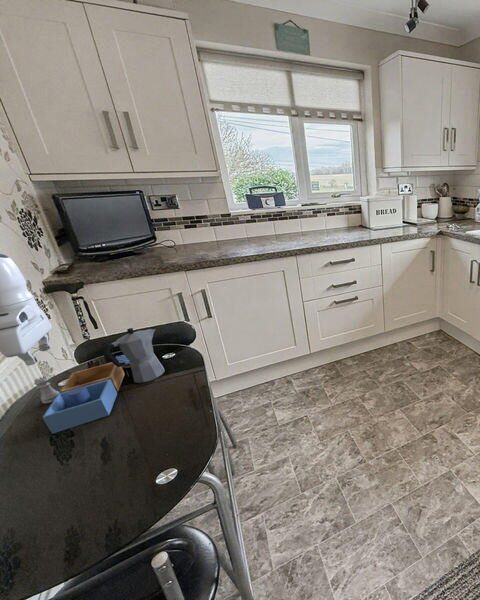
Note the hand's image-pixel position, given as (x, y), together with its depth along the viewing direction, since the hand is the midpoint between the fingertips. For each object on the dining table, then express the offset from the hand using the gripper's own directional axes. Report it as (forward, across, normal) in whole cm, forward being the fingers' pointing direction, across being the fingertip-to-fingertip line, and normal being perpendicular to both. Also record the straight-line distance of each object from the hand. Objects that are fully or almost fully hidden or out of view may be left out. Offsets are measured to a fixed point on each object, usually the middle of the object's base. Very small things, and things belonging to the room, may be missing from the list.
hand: (39, 356), depth 93 cm
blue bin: (+18, +8, +7) cm, 20 cm away
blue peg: (+17, +8, +7) cm, 20 cm away
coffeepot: (+18, -4, +20) cm, 27 cm away
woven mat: (+18, -21, +12) cm, 30 cm away
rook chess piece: (+18, -8, -6) cm, 20 cm away
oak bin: (+18, -6, +6) cm, 20 cm away
